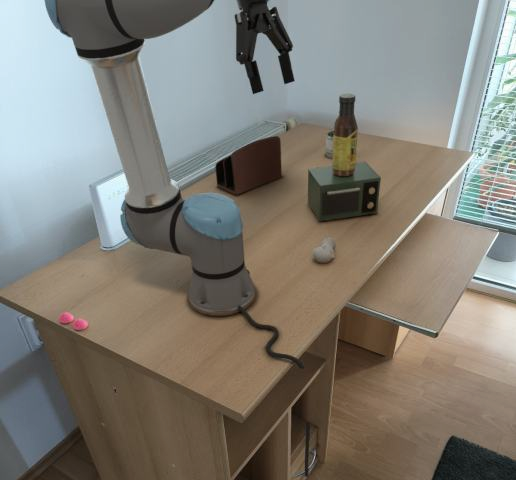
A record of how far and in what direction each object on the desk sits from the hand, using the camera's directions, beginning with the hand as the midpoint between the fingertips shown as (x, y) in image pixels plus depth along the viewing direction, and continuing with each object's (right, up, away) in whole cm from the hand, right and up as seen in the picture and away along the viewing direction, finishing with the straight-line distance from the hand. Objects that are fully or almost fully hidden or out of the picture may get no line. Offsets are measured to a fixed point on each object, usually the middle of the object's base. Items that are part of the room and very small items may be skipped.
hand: (274, 87), depth 123 cm
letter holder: (-7, -9, +43) cm, 45 cm away
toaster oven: (+21, -24, +24) cm, 39 cm away
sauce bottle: (+20, -15, +17) cm, 30 cm away
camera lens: (+23, +4, +57) cm, 61 cm away
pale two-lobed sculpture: (+13, -40, +5) cm, 43 cm away
